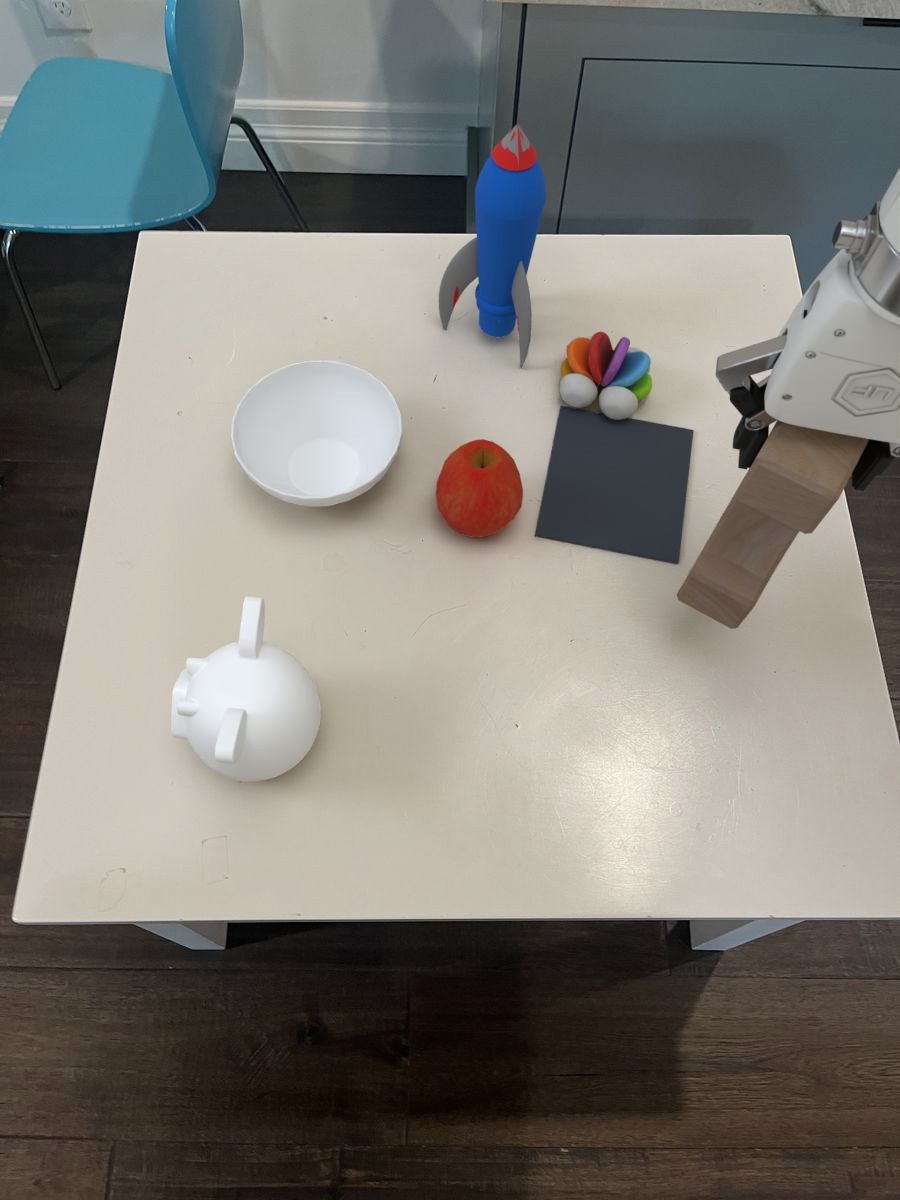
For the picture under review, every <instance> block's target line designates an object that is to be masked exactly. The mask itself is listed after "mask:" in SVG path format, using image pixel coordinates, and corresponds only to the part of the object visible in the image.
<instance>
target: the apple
mask: <svg viewBox="0 0 900 1200" xmlns="http://www.w3.org/2000/svg"><path fill="white" fill-rule="evenodd" d="M435 499H436V505H437V510H438V512H439V514H440V515H441V517H442V518H443V520H444V522H445V523H446V524H447V525H448V527H450V528H451V529H453V530H454V531H455V532H456V533H458V534H459V535H463V536H465V537H466V536H467V537H471V538H483V537H487V536H492V535H495V534H496V533H498V532H499V531H501V530H503V529H504V528H506V527H507V526H508V525H509V524H510V523H512V521H513V520H514V519H516V516H517V515H518V513H519V512H520V510H521V508H522V505H523V499H524V489H523V484H522V479H521V473H520V471H519V467H518V466H517V464H516V461H515V459H514V458H513V456H512V455H511V454H510V453H509V452H508V451H507V450H505V449H504V448H503V447H502V446H501V445H499V444H497V443H496V442H494V441H492V440H489V439H484V438H482V439H481V438H480V439H474V440H471V441H468V442H466V443H463V444H462V445H460V446H458V447H457V448H456V449H454V450H453V451H452V452H451V453H449V455H448V457H447V458H446V459H445V460H444V462H443V465H442V466H441V470H440V472H439V475H438V477H437V480H436V486H435Z"/></svg>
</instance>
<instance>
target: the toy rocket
mask: <svg viewBox="0 0 900 1200" xmlns="http://www.w3.org/2000/svg"><path fill="white" fill-rule="evenodd" d="M491 152H492V153H491V154H490V155H489V157H488V158H487V159H486V161H485V163H484V165H483V167H482V169H481V171H480V173H479V175H478V178H477V181H476V185H475V190H474V204H475V205H474V207H475V227H476V230H475V231H476V237H474V238H472V239H471V240H470V241H468V242H467V243H466V244H464V245H463V246H462V247H461V248H460V249H458V251H457V253H456V254H455V255H454V256H453V257H452V258H451V260H450V261H449V263H448V265H447V267H446V268H445V271H444V272H443V276H442V278H441V281H440V285H439V291H438V313H439V319H440V322H441V326H442V329H443V330H444V331H447V330H448V327H449V325H450V324H449V323H450V320H451V316H452V315H453V312H454V309H455V307H456V305H457V303H458V300H459V299H460V297H461V296H462V294H463V293H464V291H465V290H466V289H467V288H468V286H469V285H470V284H471V283H473V282H474V281H475V280H477V279H478V283H477V285H476V287H475V289H474V290H475V291H474V297H475V303H476V304H475V305H476V308H477V310H478V326H479V329H480V330H481V331H482V332H483V333H484V334H485V335H487V336H489V337H492V338H504V337H507V336H509V335H510V334H511V333H513V332H514V330H515V328H516V325H517V333H518V341H519V342H518V345H519V346H518V347H519V368H520V369H523V367H524V365H525V362H526V359H527V356H528V353H529V349H530V345H531V344H530V343H531V336H532V301H531V300H532V299H531V293H530V292H531V291H530V289H529V288H530V286H529V281H528V278H527V276H528V272H529V267H530V263H531V259H532V256H533V252H534V247H535V244H536V240H537V235H538V233H539V227H540V224H541V220H542V216H543V212H544V208H545V204H546V200H547V199H546V198H547V189H546V180H545V176H544V171H543V168H542V165H541V163H540V161H539V159H538V153H537V151H536V150H535V148H534V146H533V145H532V143H531V142H530V140H529V139H528V137H527V135H526V133H525V132H524V130H523V129H522V127H521V125H520V124H518V123H517V124H515V125H514V126H513V128H512V129H510V131H508V133H507V134H506V135H504V137H503V138H502V139H501V140H500V141H499V142H498V143H497V144H496V145H495V146H494V148H493V149H492V151H491Z"/></svg>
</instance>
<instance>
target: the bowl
mask: <svg viewBox="0 0 900 1200" xmlns="http://www.w3.org/2000/svg"><path fill="white" fill-rule="evenodd" d="M402 435H403V425H402V414H401V411H400V408H399V406H398V403H397V400H396V398H395V397H394V395H393V394H392V392H391V391H390V390H389V389H388V387H387V386H386V385H385V383H384V382H382V381H381V379H378V378H377V377H376V376H374V375H373V374H372V373H370V372H369V371H368V370H365V369H362V368H360V367H357V366H356V365H353V364H351V363H347V362H341V361H336V360H330V359H317V360H315V359H313V360H304V361H299V362H295V363H291V364H287V365H284V366H282V367H279V368H278V369H275V370H273V371H271V372H269V373H267V374H266V375H264V376H262V378H260V379H259V380H258V381H256V382H255V383H254V384H253V385H251V386H250V387H249V389H248V390H247V391H246V392H245V394H244V395H243V397H242V398H241V399H240V401H239V402H238V403H237V406H236V408H235V410H234V414H233V416H232V419H231V430H230V441H231V445H232V448H233V452H234V455H235V458H236V460H237V461H238V463H239V465H240V466H241V468H242V469H243V471H244V473H245V474H246V475H247V477H248V478H249V479H250V480H251V481H252V482H253V483H254V484H256V485H257V486H258V487H259V488H261V489H262V490H263V492H266V493H267V494H269V495H270V496H272V497H275V498H277V499H279V500H281V501H284V502H286V503H289V504H295V505H298V506H305V507H331V506H335V505H338V504H342V503H345V502H350V501H351V500H353V499H355V498H357V497H358V496H361V495H363V494H364V493H366V492H369V491H370V490H371V489H372V488H373V487H374V486H375V485H376V484H377V483H379V482H380V481H381V480H382V479H383V478H384V476H386V473H387V472H388V470H389V469H390V467H391V465H392V464H393V462H394V461H395V460H396V458H397V455H398V451H399V449H400V445H401V441H402V437H403V436H402Z"/></svg>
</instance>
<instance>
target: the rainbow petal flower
mask: <svg viewBox="0 0 900 1200" xmlns="http://www.w3.org/2000/svg"><path fill="white" fill-rule="evenodd" d="M630 345H631V340H630V338H628V337H626V336H623V337H621V338H620V339H619V340H618V342H617V344H616V346H615V348H614V347H613V345H612V342H611V339H610V336H609V335H608V334H607V333H606V332H604V331H597V332H595V333H594V334H592V335H591V336H587V337H584V336H580V337H576V338H574V339H572V340H571V341H570V342H569V343H568V345H567V346H566V357H565V358H564V359H563V360H562V362H561V364H560V368H559V370H560V372H559V373H560V376H561V380H560V382H559V393H560V397H561V399H562V400H563V402H564V403H565V404H566V405H568V406H569V407H573V408H578V409H583V408H585V407H588V406H590V405H591V404H592V403H593V402H595V400H596V399H597V398H598V405H599V408H600V411H601V413H604V414H605V415H606V416H607V417H609V418H611V419H615V420H622V419H626V418H630V417H631V416H632V415H634V414H635V412H636V410H637V409H638V407H639V401H641V400H643V399H645V398H646V397H647V396H648V395H650V393H651V391H652V389H653V379H652V376H651V374H650V369H651V364H652V363H651V362H652V361H651V357H650V355H649V354H648V353H646V352H645V351H644V350H642V349H641V348H638V347H635V346H630ZM613 348H614V349H613ZM599 385H601V386H602V387H604V388H603V389H602V390H601V391H600V394H599V395H598V392H599V391H598V387H599Z"/></svg>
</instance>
